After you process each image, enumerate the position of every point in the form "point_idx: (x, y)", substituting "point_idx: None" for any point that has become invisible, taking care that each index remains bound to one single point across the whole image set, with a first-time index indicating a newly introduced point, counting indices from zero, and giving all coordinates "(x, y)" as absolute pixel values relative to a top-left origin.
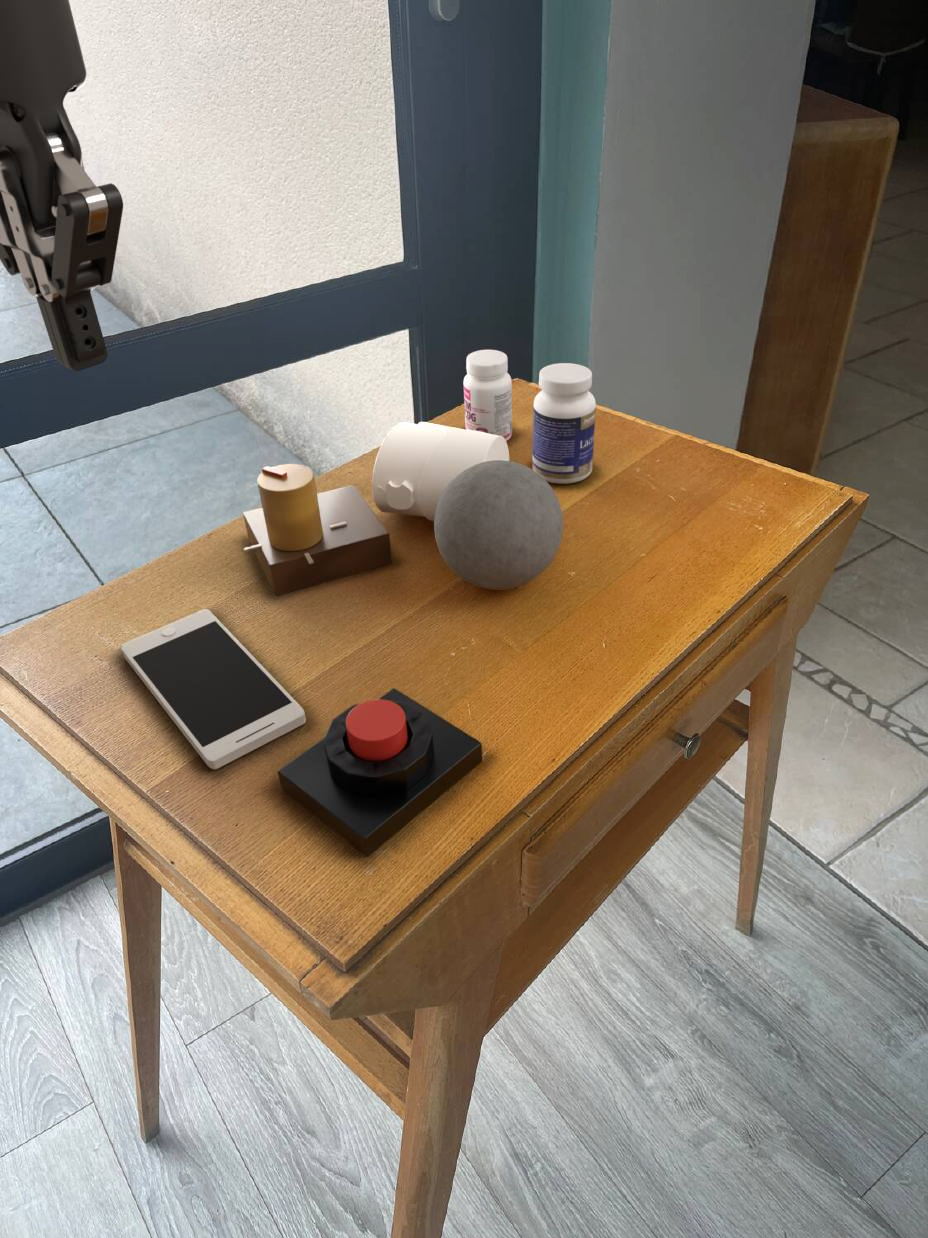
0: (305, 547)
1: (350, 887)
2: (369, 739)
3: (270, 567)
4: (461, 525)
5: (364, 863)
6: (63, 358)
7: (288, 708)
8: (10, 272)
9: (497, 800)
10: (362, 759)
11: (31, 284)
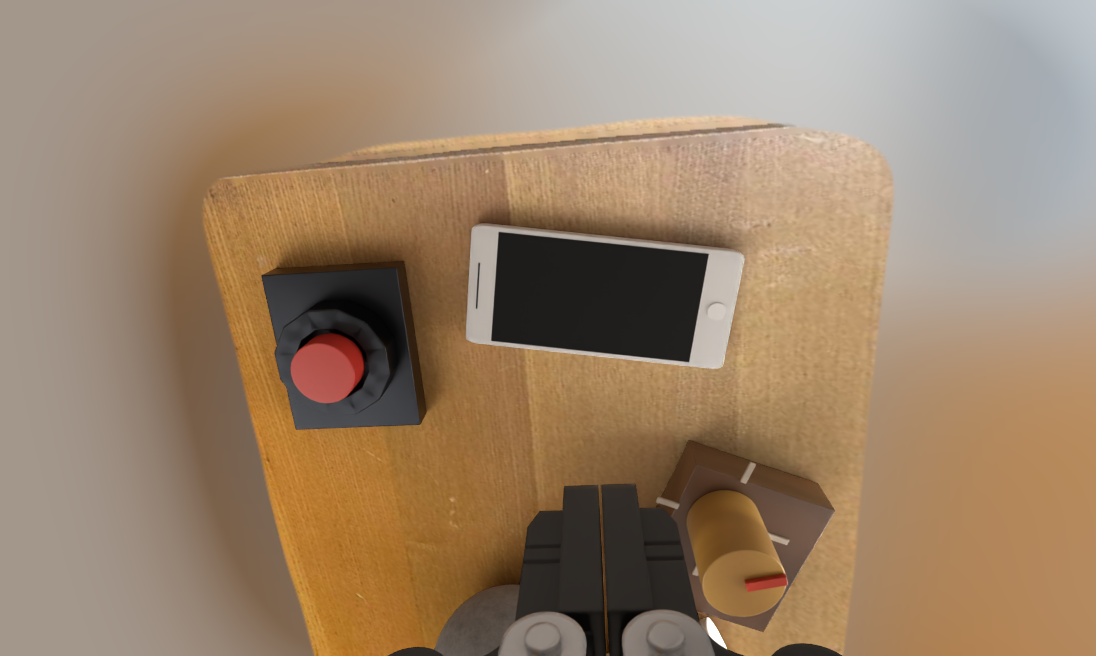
0: (688, 513)
1: (255, 235)
2: (300, 351)
3: (695, 462)
4: (493, 642)
5: (271, 262)
6: (587, 495)
7: (485, 332)
8: (810, 650)
9: (259, 394)
10: (352, 338)
11: (644, 640)
